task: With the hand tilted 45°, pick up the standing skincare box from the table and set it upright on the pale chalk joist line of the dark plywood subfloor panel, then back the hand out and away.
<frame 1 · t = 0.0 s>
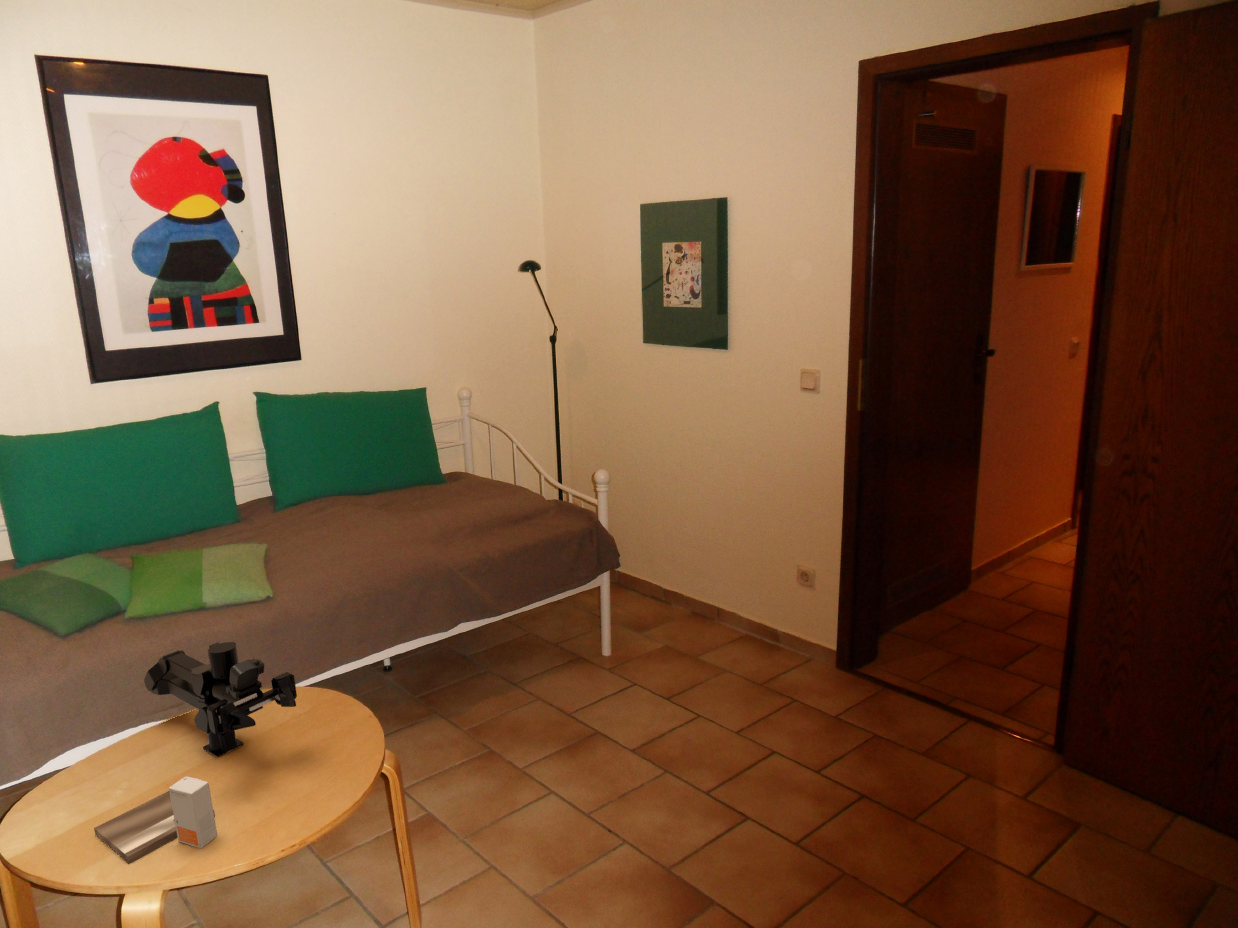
hand: (275, 713, 178), 17 cm above the table, tool horizontal, fingers open, 9 cm apart
subfloor panel: (156, 825, 169), on the table
skincare box: (198, 840, 165), on the table
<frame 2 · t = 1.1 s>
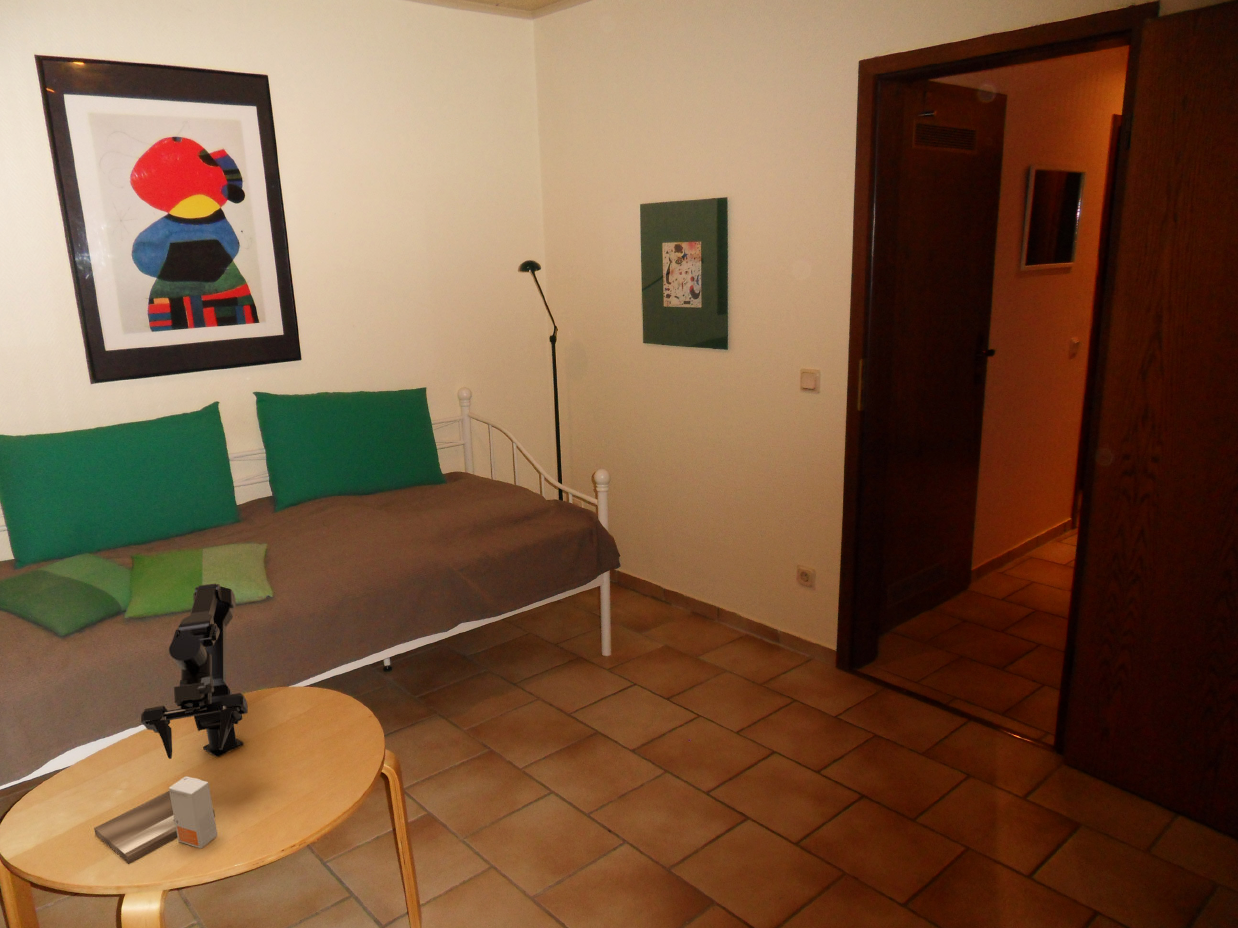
hand: (195, 753, 169), 14 cm above the table, tool tilted 45°, fingers open, 9 cm apart
nothing on the table moved.
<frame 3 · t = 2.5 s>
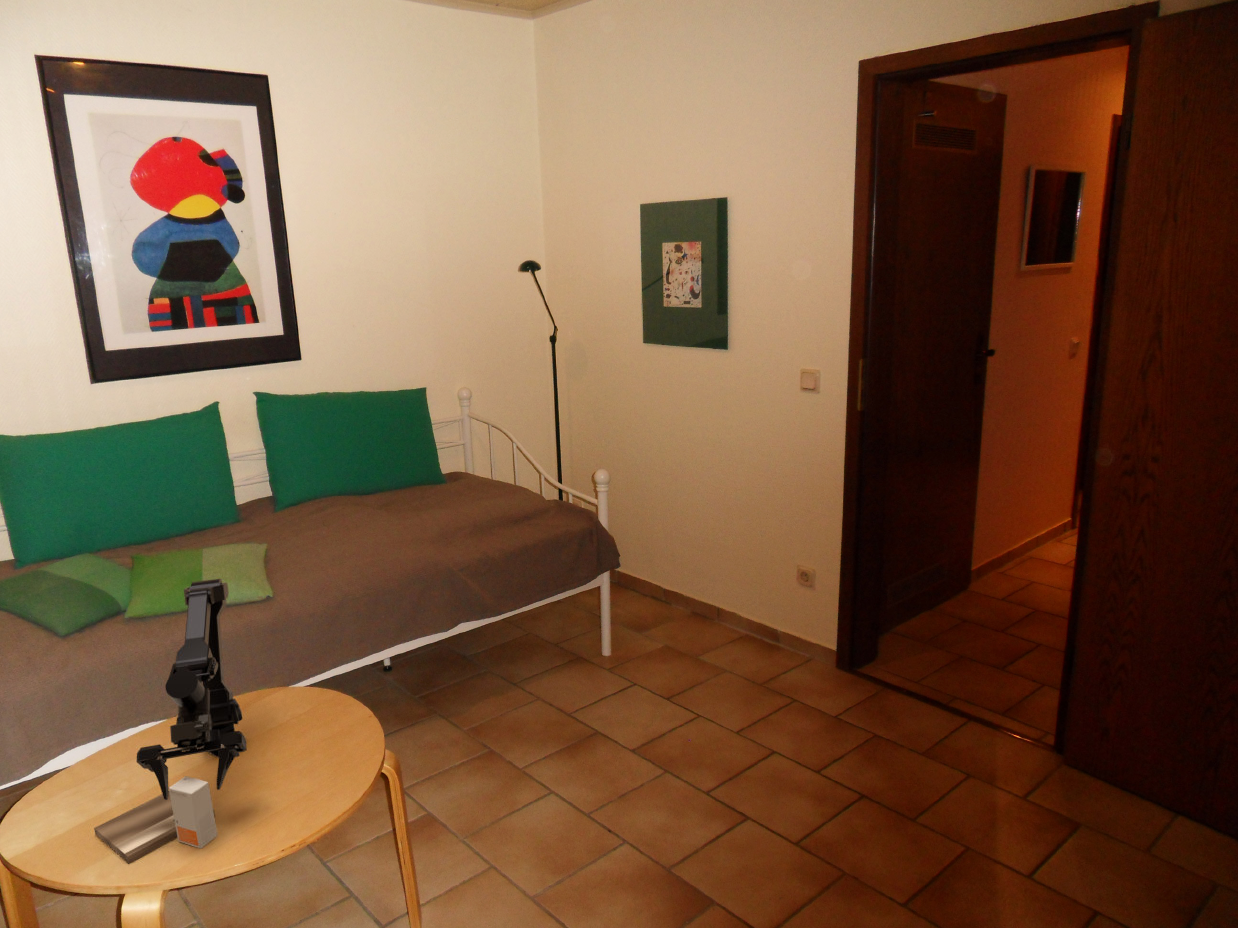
hand: (192, 794, 164), 9 cm above the table, tool tilted 45°, fingers open, 9 cm apart
nothing on the table moved.
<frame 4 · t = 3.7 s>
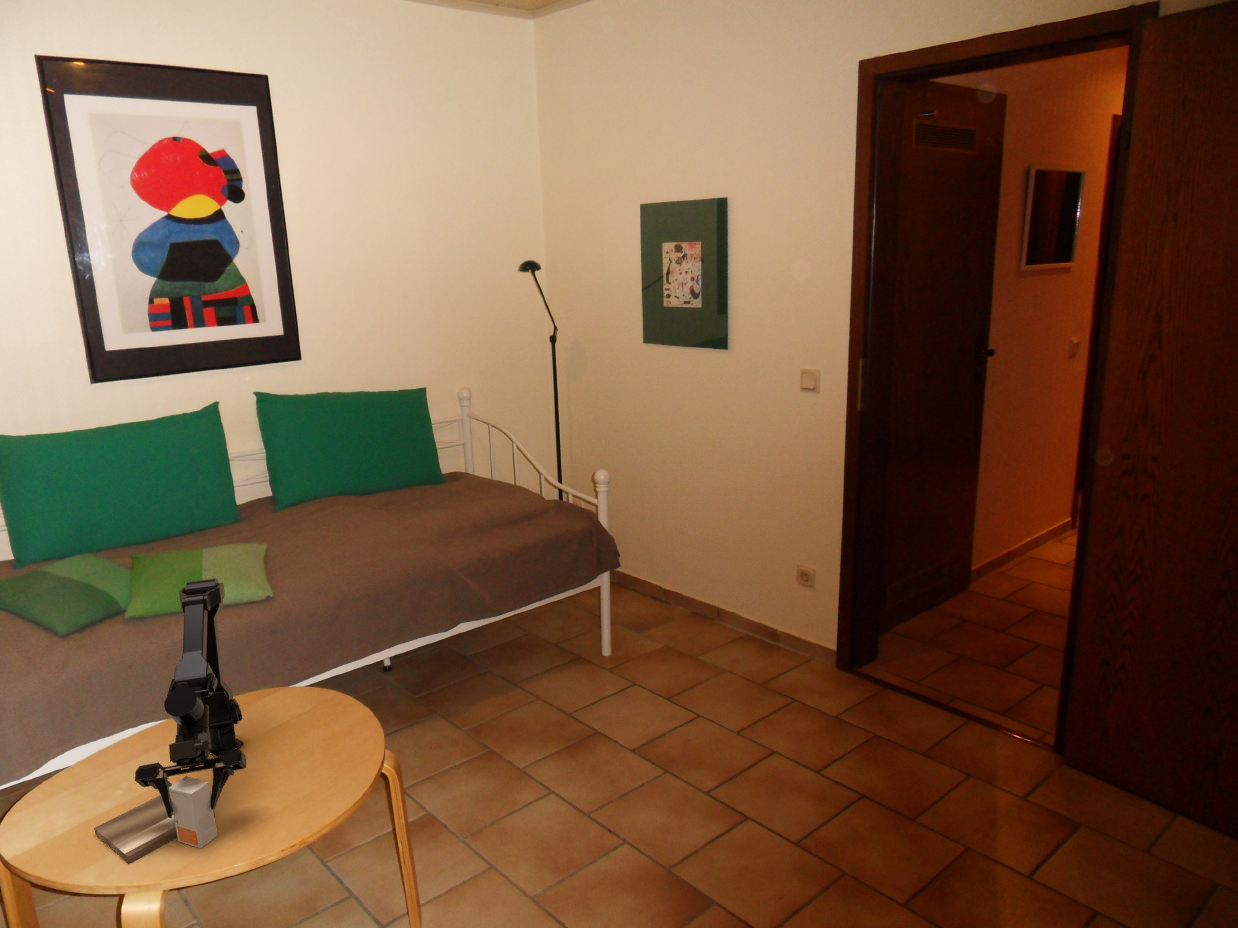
hand: (191, 813, 162), 7 cm above the table, tool tilted 45°, fingers closed on skincare box, 7 cm apart
skincare box: (198, 839, 165), on the table, touching gripper
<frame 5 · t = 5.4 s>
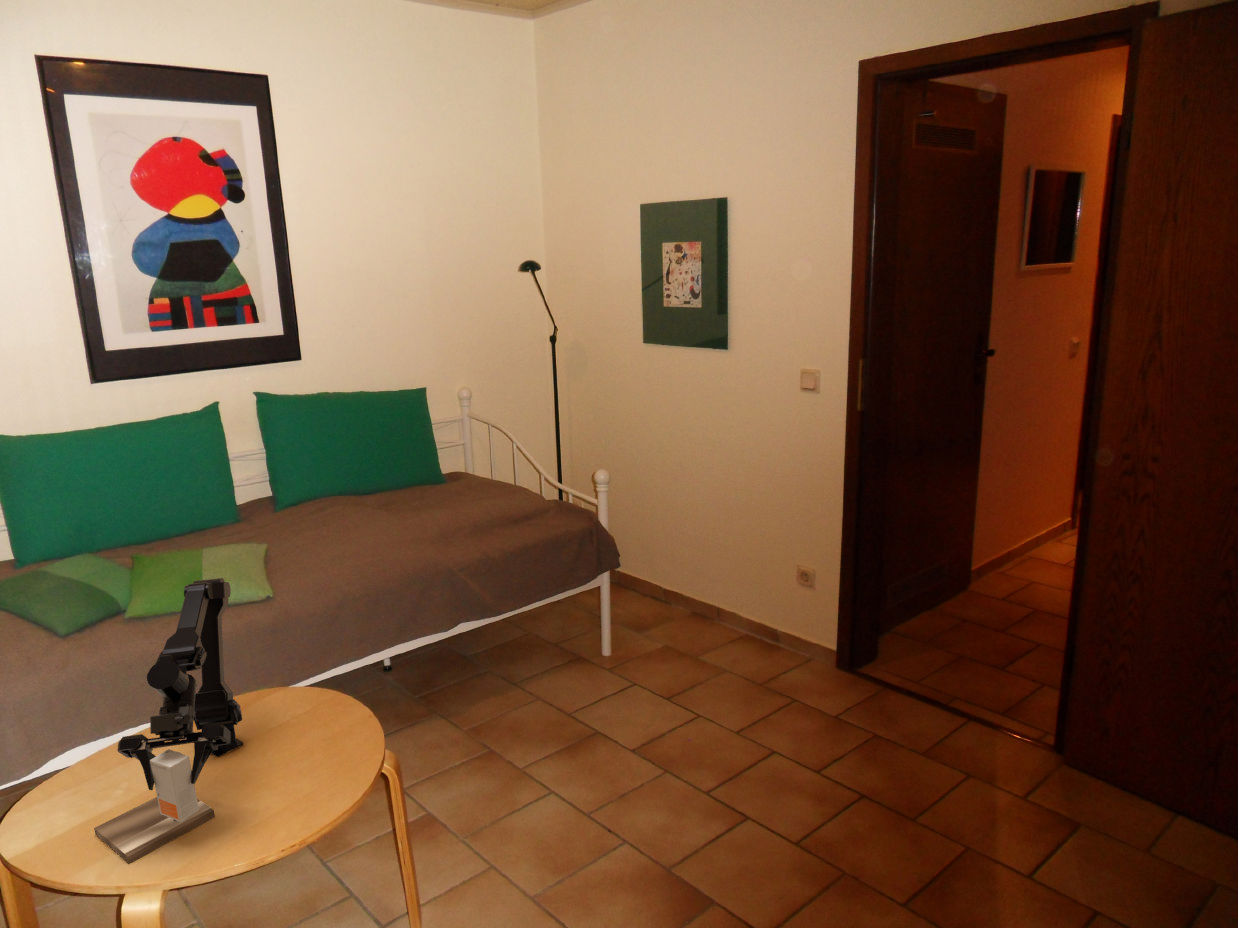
hand: (171, 786, 161), 12 cm above the table, tool tilted 45°, fingers closed on skincare box, 7 cm apart
skincare box: (180, 813, 164), point 5 cm above the table, touching gripper
when the fingers open (9 cm above the table, at t = 7.2 s): skincare box stays where it is, resting on subfloor panel.
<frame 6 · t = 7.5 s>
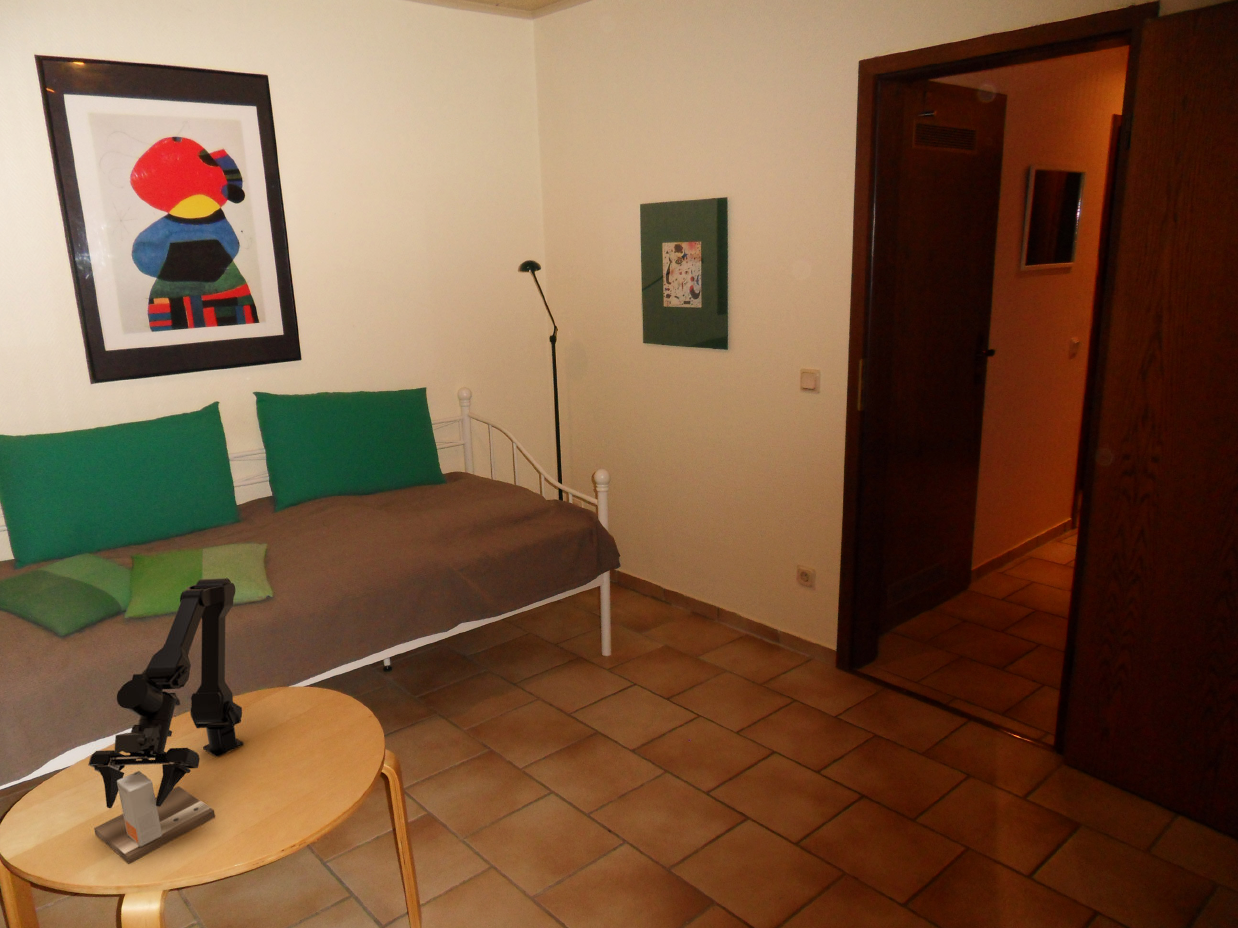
hand: (133, 806, 161), 9 cm above the table, tool tilted 45°, fingers open, 9 cm apart
skincare box: (145, 836, 164), point 1 cm above the table, touching subfloor panel
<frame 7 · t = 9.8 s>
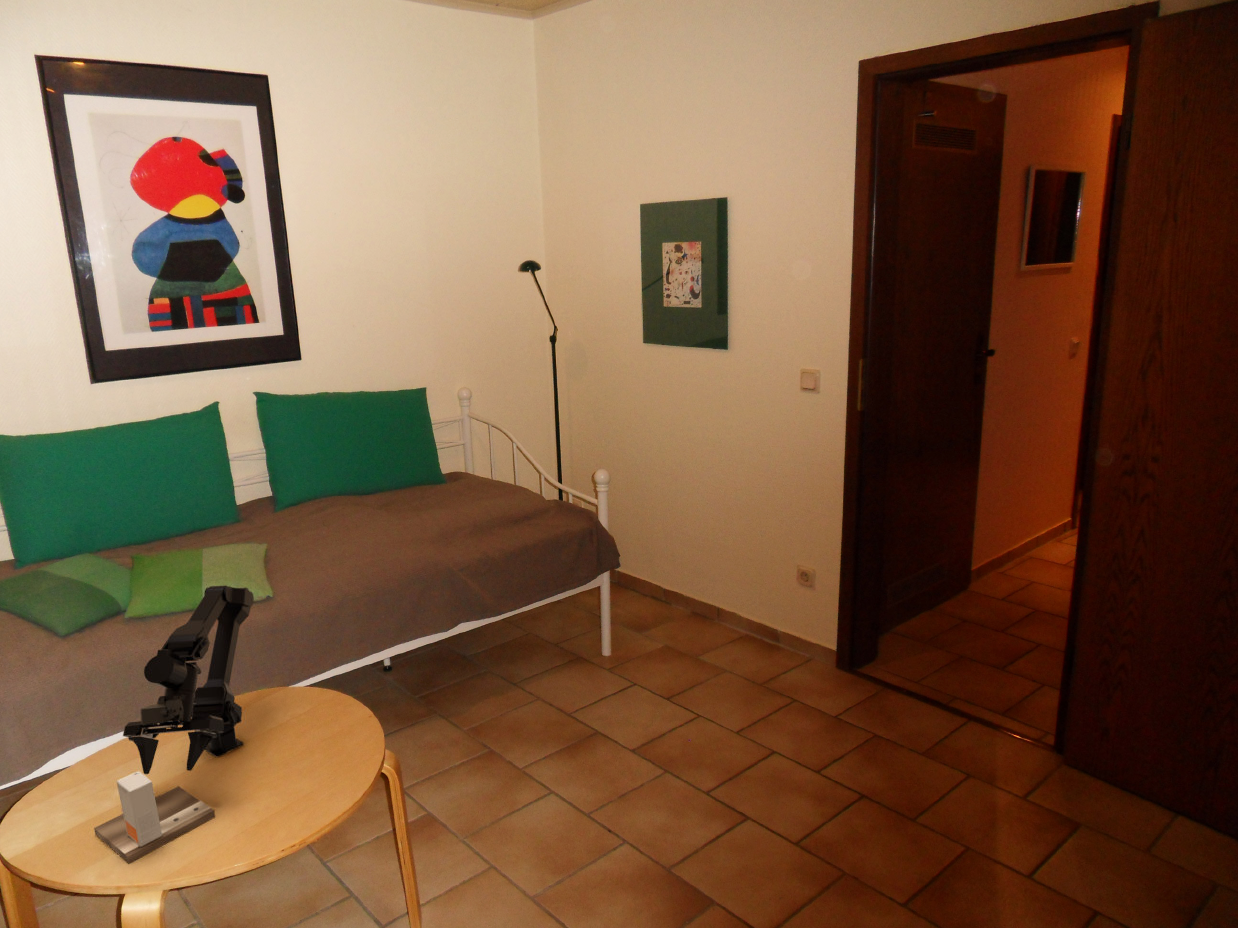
hand: (167, 772, 171), 9 cm above the table, tool tilted 40°, fingers open, 9 cm apart
nothing on the table moved.
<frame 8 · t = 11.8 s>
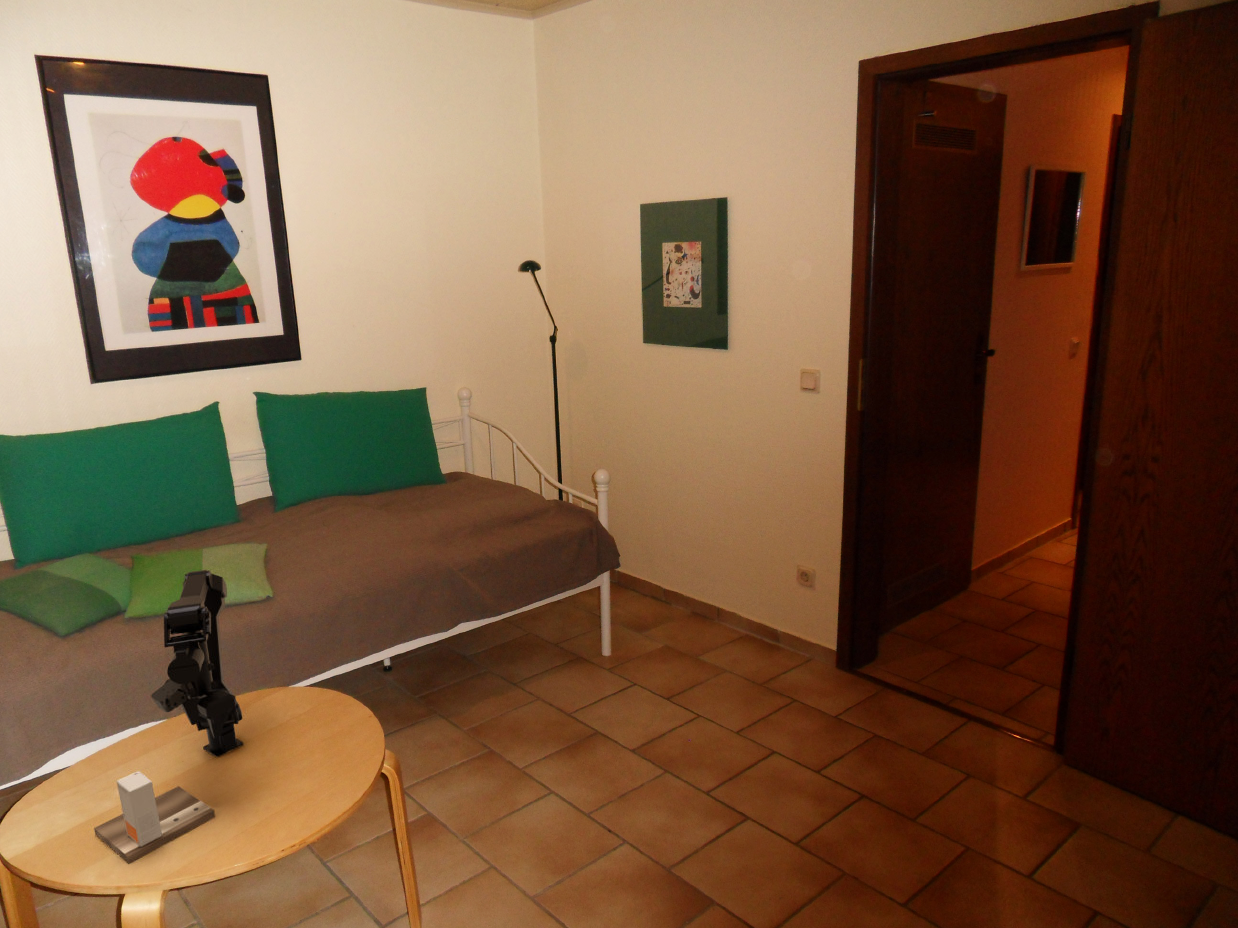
hand: (205, 730, 179), 13 cm above the table, tool pointing down, fingers open, 9 cm apart
nothing on the table moved.
at the end: skincare box inside the target area (3.7 cm from its centre), point 1.4 cm above the table; skincare box tilted 0°; the gripper is holding nothing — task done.
